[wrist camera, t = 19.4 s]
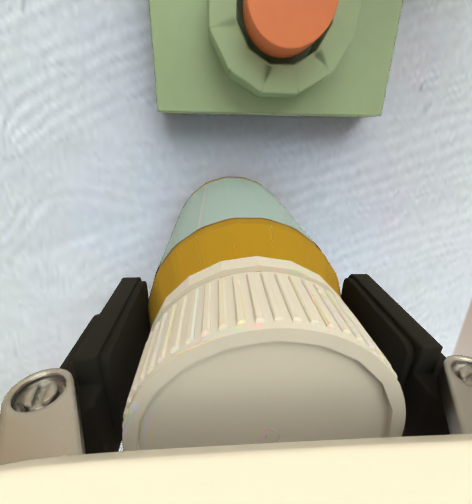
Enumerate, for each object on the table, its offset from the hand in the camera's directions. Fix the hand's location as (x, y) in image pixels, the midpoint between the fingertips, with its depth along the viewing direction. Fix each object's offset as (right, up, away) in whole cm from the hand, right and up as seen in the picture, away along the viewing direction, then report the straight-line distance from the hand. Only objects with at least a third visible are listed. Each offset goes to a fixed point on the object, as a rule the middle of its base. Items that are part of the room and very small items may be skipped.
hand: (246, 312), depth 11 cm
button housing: (+1, +14, +5) cm, 15 cm away
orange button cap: (+2, +13, +2) cm, 13 cm away
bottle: (-1, +4, +10) cm, 10 cm away
